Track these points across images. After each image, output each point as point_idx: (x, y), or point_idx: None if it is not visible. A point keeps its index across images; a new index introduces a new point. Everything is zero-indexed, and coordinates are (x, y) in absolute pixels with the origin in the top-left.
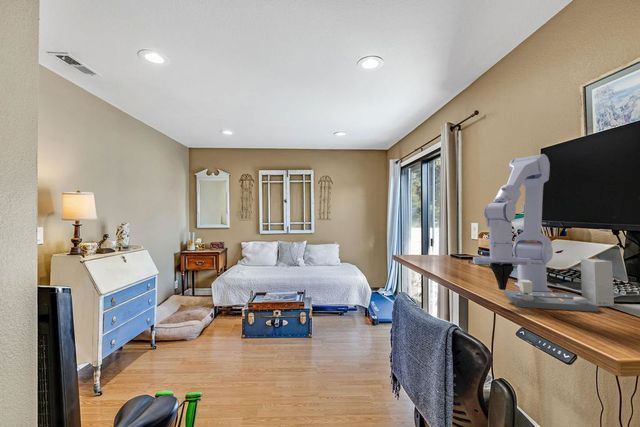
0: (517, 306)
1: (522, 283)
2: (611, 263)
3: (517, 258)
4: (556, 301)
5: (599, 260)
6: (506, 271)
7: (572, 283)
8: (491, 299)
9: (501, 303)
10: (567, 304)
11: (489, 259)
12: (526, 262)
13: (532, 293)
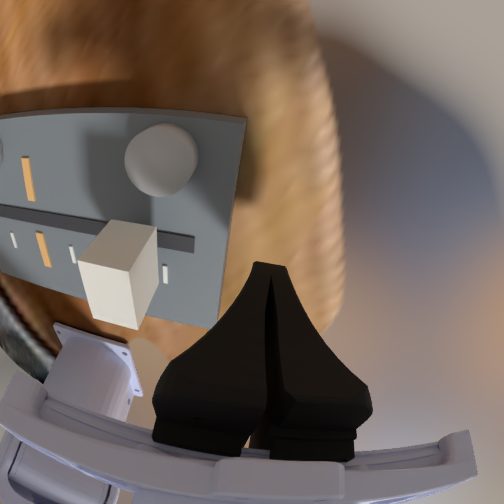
0: (244, 119)
1: (135, 273)
2: None
3: (90, 471)
4: (46, 150)
5: None
6: (243, 360)
7: (29, 366)
8: (318, 254)
9: (304, 184)
10: (24, 116)
11: (405, 487)
12: (33, 406)
13: None
